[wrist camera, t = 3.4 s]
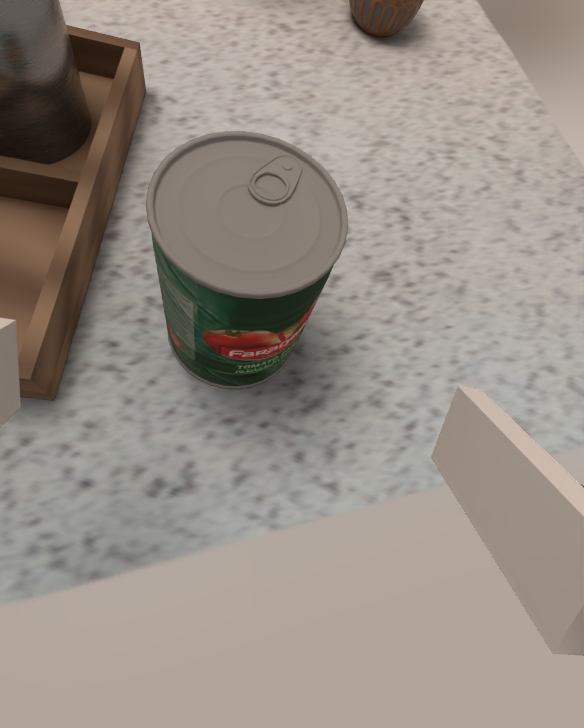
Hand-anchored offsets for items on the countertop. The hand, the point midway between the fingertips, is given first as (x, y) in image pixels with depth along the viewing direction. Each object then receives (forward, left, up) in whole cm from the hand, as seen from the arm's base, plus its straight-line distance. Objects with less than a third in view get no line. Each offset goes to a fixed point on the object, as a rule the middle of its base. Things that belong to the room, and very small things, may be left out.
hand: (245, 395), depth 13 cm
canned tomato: (+3, +7, -12) cm, 15 cm away
